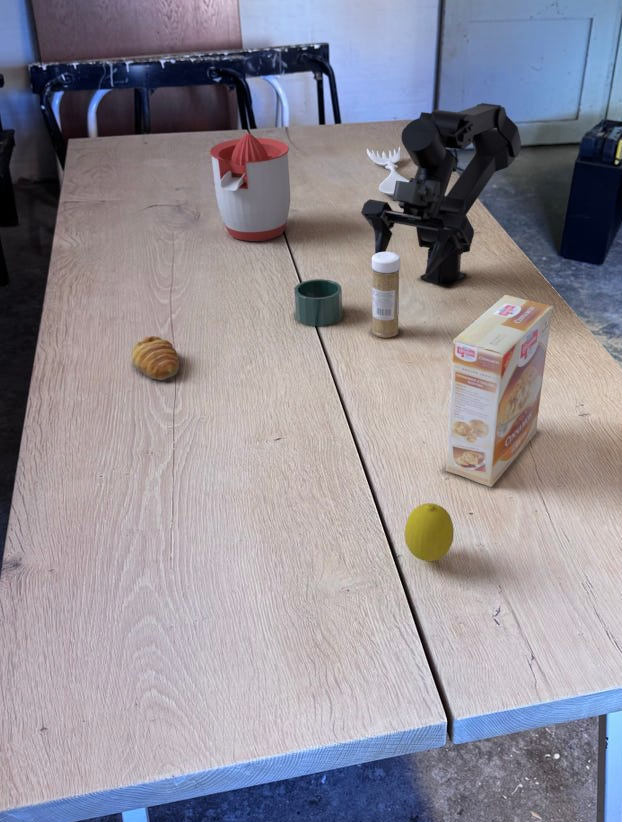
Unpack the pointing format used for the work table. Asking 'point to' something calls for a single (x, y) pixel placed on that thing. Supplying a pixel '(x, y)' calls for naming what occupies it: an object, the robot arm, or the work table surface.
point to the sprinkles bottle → (385, 294)
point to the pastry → (155, 358)
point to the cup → (318, 302)
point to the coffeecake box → (496, 388)
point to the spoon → (388, 163)
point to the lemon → (429, 532)
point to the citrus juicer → (252, 186)
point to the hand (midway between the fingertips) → (401, 269)
